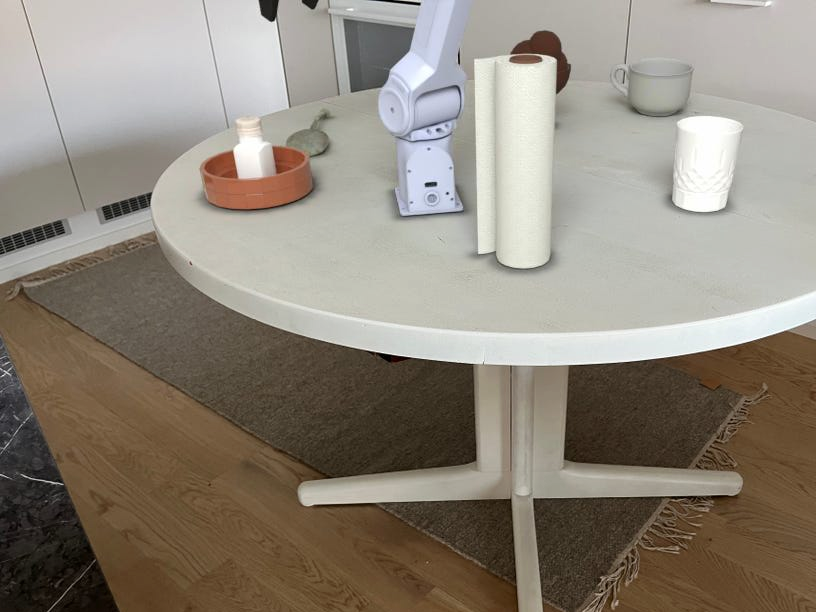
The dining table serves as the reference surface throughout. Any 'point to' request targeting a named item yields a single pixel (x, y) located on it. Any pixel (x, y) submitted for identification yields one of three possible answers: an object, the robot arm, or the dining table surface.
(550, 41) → the brown rounded tall piece
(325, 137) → the soupspoon
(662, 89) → the teacup
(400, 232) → the dining table surface
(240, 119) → the pepper shaker
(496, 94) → the paper towel roll
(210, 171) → the clay bowl
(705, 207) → the white cup
